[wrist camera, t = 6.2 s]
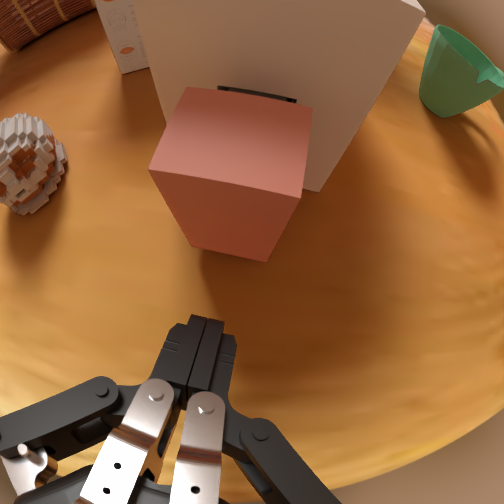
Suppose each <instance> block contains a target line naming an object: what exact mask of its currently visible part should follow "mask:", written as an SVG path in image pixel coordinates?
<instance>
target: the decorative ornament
mask: <svg viewBox="0 0 504 504" xmlns="http://www.w3.org/2000/svg"><path fill="white" fill-rule="evenodd" d="M65 162H67V157H66V152H65V148H64V145H63V144H62V143H60V144H59V143H58V141H57V140H56V139H54V133H53V132H52V131H51V129H50V128H49V127H48V126H47V124H46V123H45V122H44V121H43V119H41V120H40V119H39V118H38V117H37V116H36V117H34V118H33V117H32V116H29V115H28V114H27V113H25V114H24V115H23V114H22V113H21V114H19V113H17V114H16V115H15V116H14V117H12V118H10V117H9V118H8V119H7V117H6V118H5V119H3V120H2V121H1V122H0V203H1V204H2V203H4V204H5V205H7V206H8V207H11V210H12V211H13V212H14V213H15V212H16V213H18V214H21V215H23V216H24V215H25V214H26V213H27V212H30V213H32V214H33V213H34V212H35V211H36V210H38V209H39V208H40V207H41V206H43V205H44V204H45V203H46V202H48V201H49V197H48V195H50V194H51V193H52V192H54V191H55V190H56V189H57V185H56V184H57V183H58V182H60V181H61V179H60V176H61V175H62V174H64V173H65V172H64V168H63V164H64V163H65Z"/></svg>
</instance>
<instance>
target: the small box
mask: <svg viewBox="0 0 504 504" xmlns="http://www.w3.org/2000/svg"><path fill="white" fill-rule="evenodd" d="M94 1H95V5H96V7H97V10H98V13H99V16H100V19H101V22H102V25H103V27H104V30H105V33H106V36H107V39H108V41H109V44H110V47H111V49H112V52H113V55H114V57H115V60H116V62H117V65H118V67H119V70H120V72H121V74H125V73H128V72H132V71H135V70H139V69H143V68H147V67H149V63H148V60H147V56H146V53H145V49H144V45H143V41H142V38H141V34H140V30H139V26H138V22H137V18H136V14H135V10H134V6H133V2H132V0H94Z"/></svg>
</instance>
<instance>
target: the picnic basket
mask: <svg viewBox="0 0 504 504" xmlns="http://www.w3.org/2000/svg"><path fill="white" fill-rule="evenodd" d="M94 8H97V7H96V5H95V1H94V0H0V43H1V44H2V45H3V46H4V47H5V49H6V50H7V51H9V52H10V53H16V52H18V51H19V50H20V49H21V48H22V47H23V46H25V45H26V44H28V43H29V42H31V41H32V40H34V39H36V38H37V37H39V36H41V35H42V34H44V33H46V32H48V31H49V30H51V29H53V28H55V27H57V26H58V25H60V24H62V23H64V22H66V21H68V20H70V19H72V18H74V17H76V16H79V15H81V14H83V13H85V12H87V11H90V10H92V9H94Z"/></svg>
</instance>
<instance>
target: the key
mask: <svg viewBox="0 0 504 504" xmlns="http://www.w3.org/2000/svg"><path fill="white" fill-rule="evenodd" d="M286 100H287V97H284V96H280V95H275V94H270V93H265V92H259V91H253V90H247V89H241V88H234V87H229V89H228V91H223V90H215V89H205V88H195V87H186V88H185V90H184V92H183V94H182V96H181V98H180V100H179V102H178V104H177V106H176V108H175V110H174V112H173V114H172V116H171V118H170V120H169V122H168V124H167V126H166V128H165V130H164V133H163V135H162V137H161V139H160V141H159V144H158V146H157V148H156V151H155V153H154V155H153V158H152V160H151V162H150V165H149V167H148V171H149V172H150V174H151V176H152V178H153V180H154V182H155V183H156V185H157V187H158V189H159V191H160V192H161V194H162V196H163V198H164V200H165V201H166V203H167V205H168V207H169V208H170V210H171V212H172V214H173V215H174V217H175V219H176V221H177V222H178V224H179V226H180V227H181V229H182V231H183V233H184V234H185V236H186V238H187V239H188V241H189V243H190V244H191V246H193V247H197V248H202V249H206V250H211V251H215V252H220V253H225V254H229V255H234V256H239V257H243V258H248V259H252V260H257V261H262V262H267V261H268V259H269V257H270V255H271V253H272V251H273V250H274V248H275V246H276V244H277V242H278V240H279V238H280V237H281V235H282V233H283V231H284V229H285V227H286V225H287V223H288V222H289V220H290V218H291V216H292V214H293V212H294V210H295V208H296V207H297V205H298V203H299V201H300V199H301V194H302V187H303V181H304V174H305V167H306V160H307V152H308V145H309V137H310V129H311V121H312V112H313V108H311V107H307V106H303V105H299V104H295V103H291V102H286Z"/></svg>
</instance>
